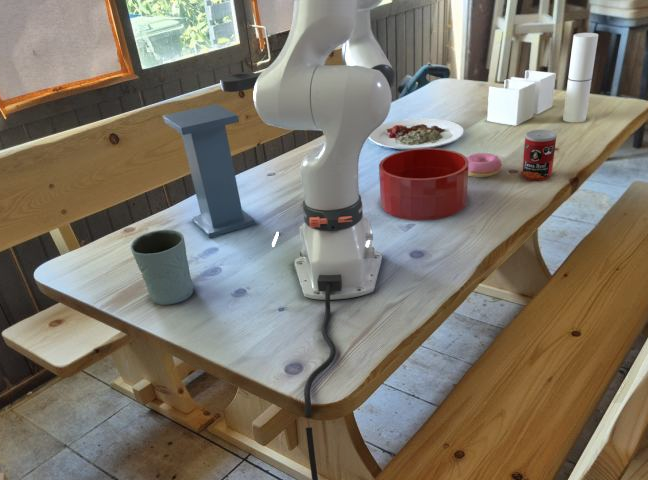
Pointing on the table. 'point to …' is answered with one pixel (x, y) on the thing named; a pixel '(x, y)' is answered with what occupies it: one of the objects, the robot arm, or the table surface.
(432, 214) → the pot
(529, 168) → the canned food
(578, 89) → the cylindrical container
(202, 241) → the table surface
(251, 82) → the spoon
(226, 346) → the table surface
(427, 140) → the plated food
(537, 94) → the storage container
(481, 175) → the doughnut
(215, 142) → the stand
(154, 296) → the green cup
